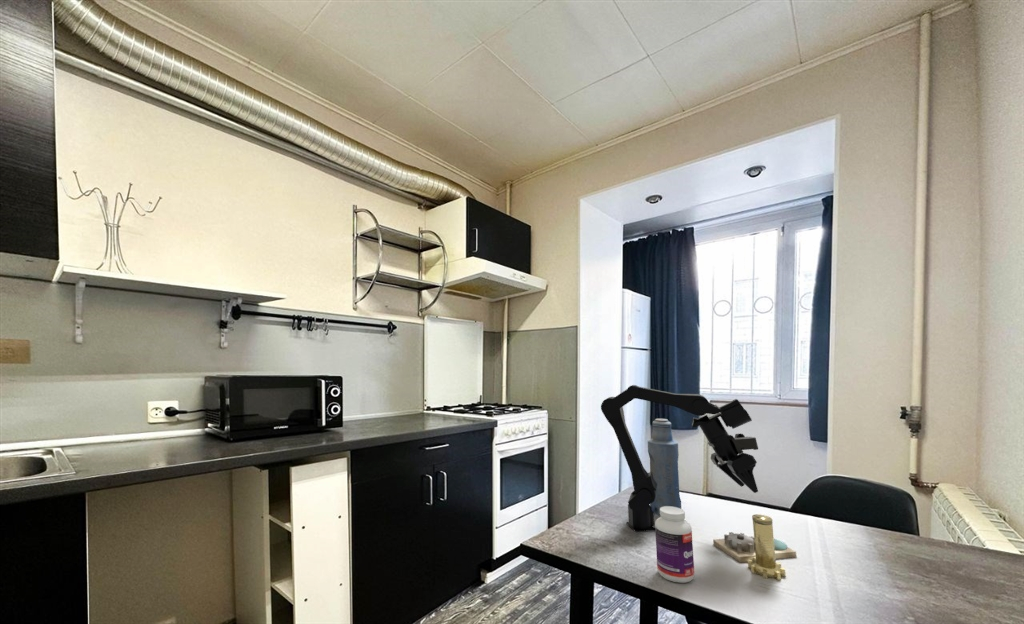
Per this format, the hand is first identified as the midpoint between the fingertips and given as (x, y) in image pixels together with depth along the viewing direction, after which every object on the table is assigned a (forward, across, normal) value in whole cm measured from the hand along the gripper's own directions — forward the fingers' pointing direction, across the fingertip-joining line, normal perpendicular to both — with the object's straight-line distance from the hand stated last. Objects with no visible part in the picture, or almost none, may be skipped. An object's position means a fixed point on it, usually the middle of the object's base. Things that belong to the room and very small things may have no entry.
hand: (749, 488), depth 111 cm
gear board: (+12, -3, +8) cm, 15 cm away
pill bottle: (+4, -19, +30) cm, 35 cm away
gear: (+13, -14, +10) cm, 21 cm away
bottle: (+2, +22, +22) cm, 31 cm away
